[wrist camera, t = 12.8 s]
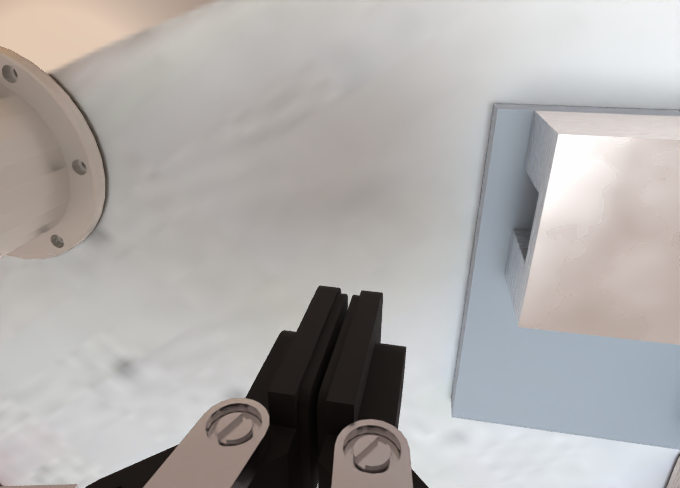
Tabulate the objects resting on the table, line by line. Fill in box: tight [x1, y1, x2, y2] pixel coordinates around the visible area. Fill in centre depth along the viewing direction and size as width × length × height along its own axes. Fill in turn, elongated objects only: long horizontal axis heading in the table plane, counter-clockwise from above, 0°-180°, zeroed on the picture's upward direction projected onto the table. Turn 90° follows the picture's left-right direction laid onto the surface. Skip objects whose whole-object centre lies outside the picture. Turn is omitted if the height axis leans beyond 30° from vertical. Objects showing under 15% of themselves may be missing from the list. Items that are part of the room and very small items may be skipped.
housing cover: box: [505, 111, 680, 345], centre depth 19 cm, size 7×8×4 cm
